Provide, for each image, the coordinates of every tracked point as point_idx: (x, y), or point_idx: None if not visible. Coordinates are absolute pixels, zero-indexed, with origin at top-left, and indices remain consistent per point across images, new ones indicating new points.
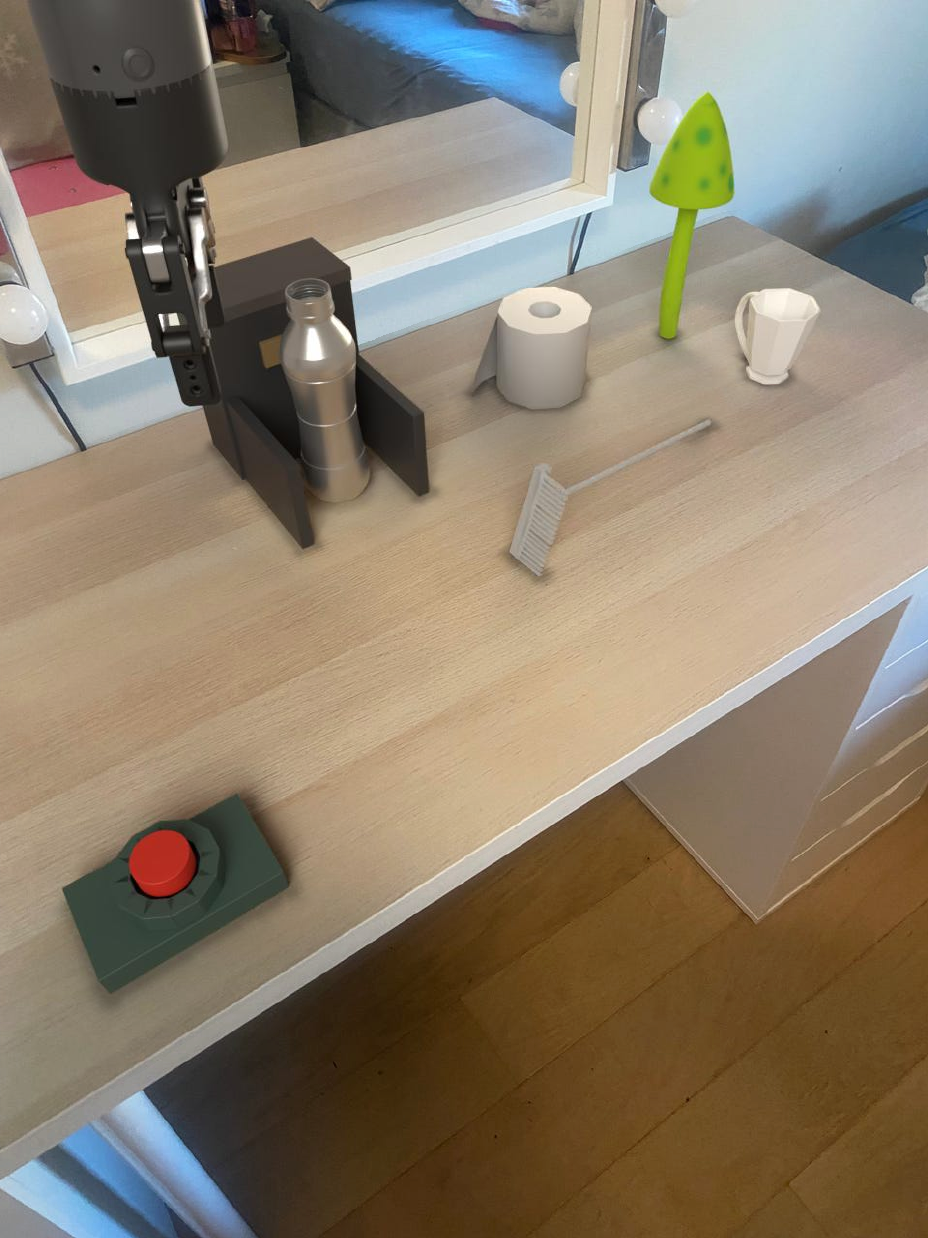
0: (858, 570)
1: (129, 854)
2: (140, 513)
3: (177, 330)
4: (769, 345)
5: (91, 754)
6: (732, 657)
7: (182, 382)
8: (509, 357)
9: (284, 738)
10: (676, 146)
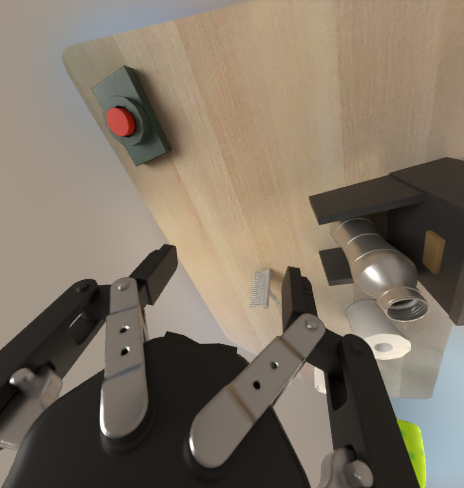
0: (230, 331)
1: (127, 105)
2: (401, 96)
3: (90, 312)
4: (319, 371)
5: (206, 71)
6: (209, 298)
7: (142, 262)
8: (372, 318)
9: (201, 171)
10: (410, 454)
